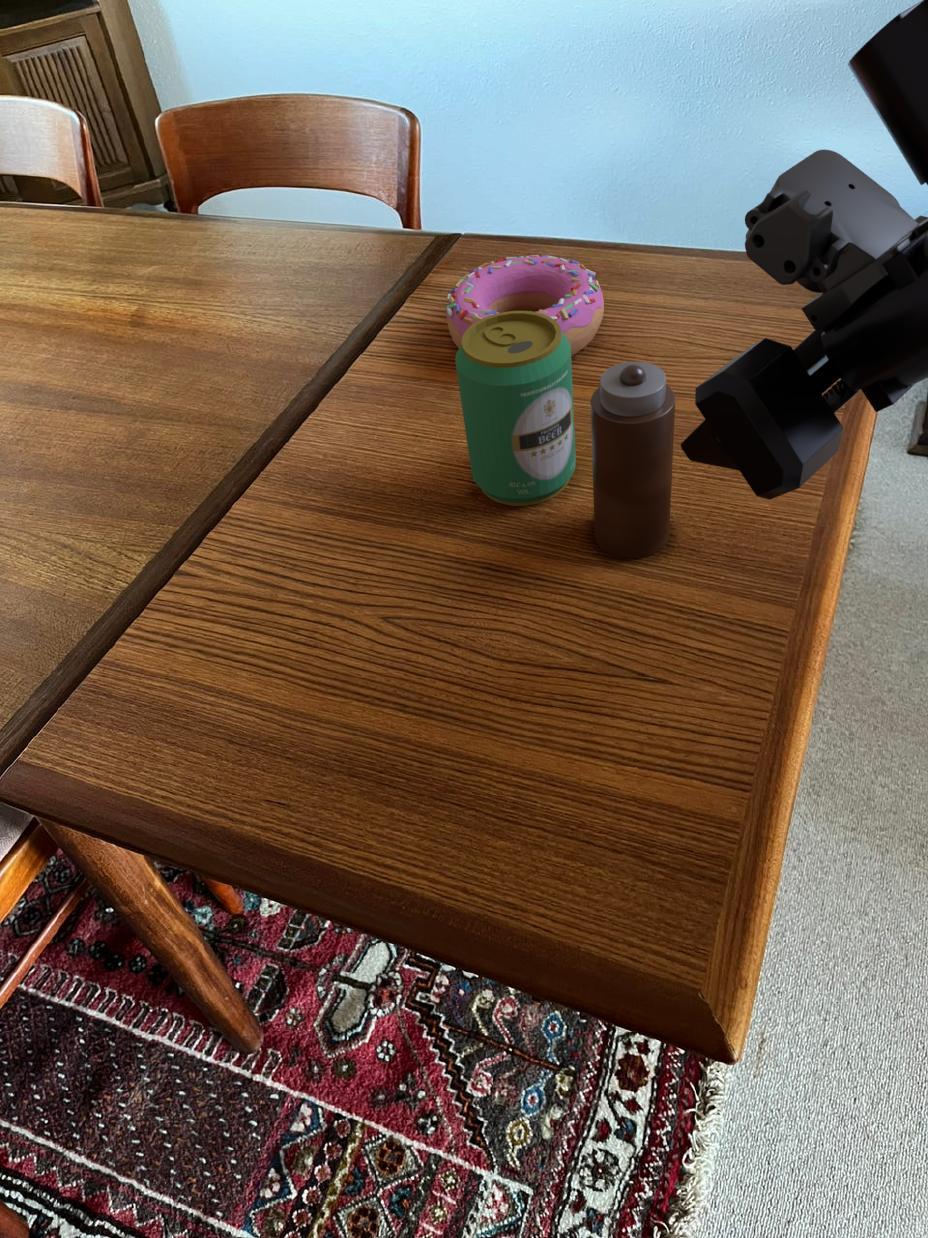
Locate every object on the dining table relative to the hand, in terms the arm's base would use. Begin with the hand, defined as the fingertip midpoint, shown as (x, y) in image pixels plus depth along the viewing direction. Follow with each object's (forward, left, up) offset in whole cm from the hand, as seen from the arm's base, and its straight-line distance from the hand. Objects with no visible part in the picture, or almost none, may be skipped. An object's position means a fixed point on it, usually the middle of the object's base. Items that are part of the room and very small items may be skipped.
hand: (735, 411), depth 53 cm
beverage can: (+14, -12, -13) cm, 22 cm away
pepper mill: (+6, -5, -13) cm, 15 cm away
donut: (+15, -33, -13) cm, 38 cm away
